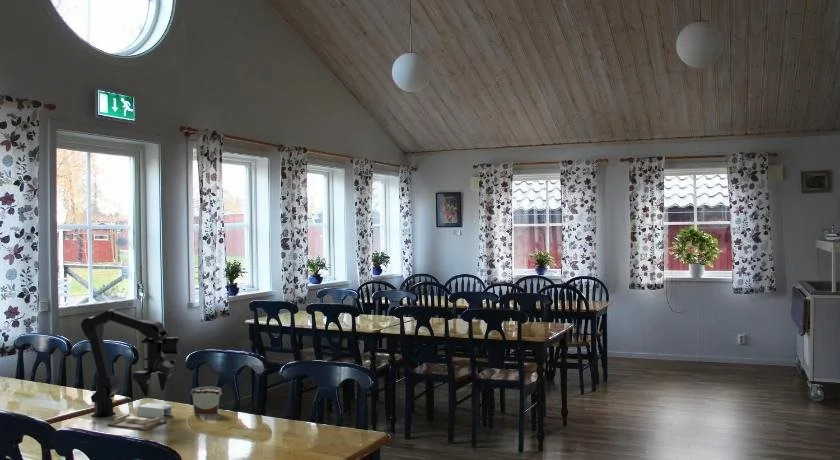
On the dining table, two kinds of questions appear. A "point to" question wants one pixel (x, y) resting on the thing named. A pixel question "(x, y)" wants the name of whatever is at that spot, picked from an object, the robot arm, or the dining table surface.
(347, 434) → the dining table surface
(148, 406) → the shell
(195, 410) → the food container
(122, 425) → the dock
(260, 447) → the dining table surface
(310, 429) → the dining table surface
